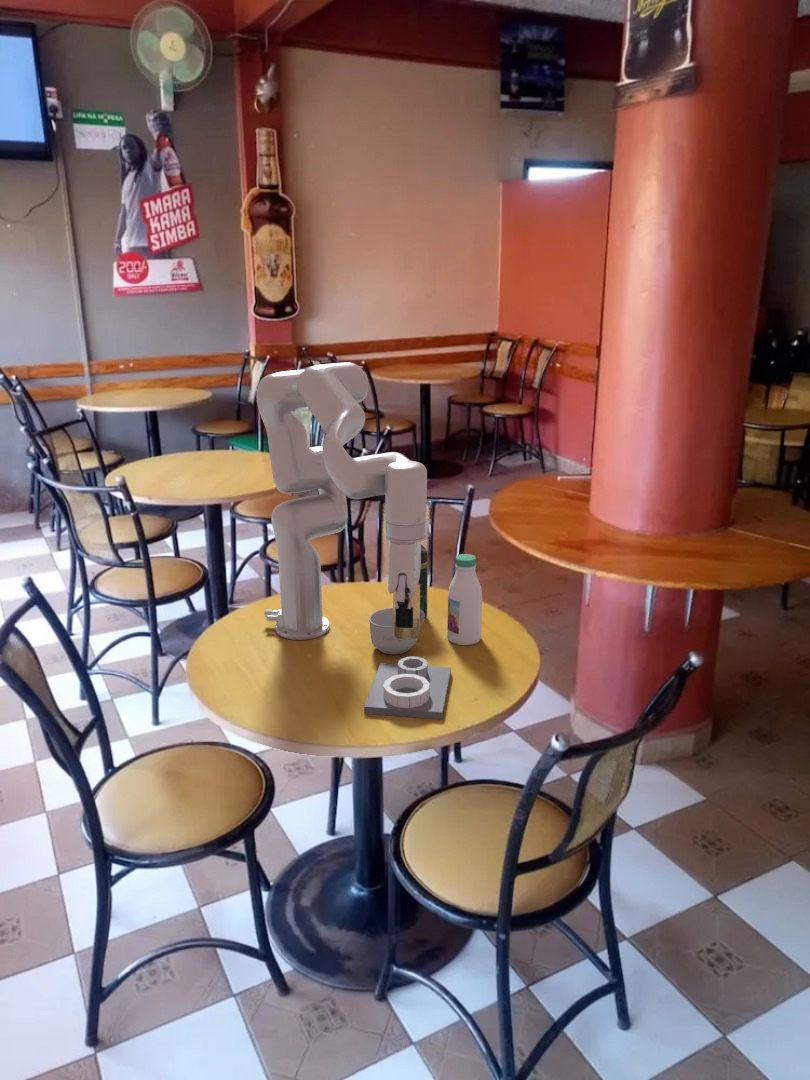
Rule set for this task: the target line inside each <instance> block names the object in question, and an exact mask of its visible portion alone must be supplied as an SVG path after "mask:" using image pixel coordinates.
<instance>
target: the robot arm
mask: <svg viewBox="0 0 810 1080" xmlns="http://www.w3.org/2000/svg"><path fill="white" fill-rule="evenodd" d="M256 388H257V389H256V396H255V397H256V403H257V404H256V405H257V409H258V412H259V415H260V417H261V420H262V422H263V425H264V427H265V430H266V435H267V440H268V441H267V443H268V450H269V451H268V452H269V459H270V465H271V473H272V479H273V483H274V486H275V488H276V489H277V491H279V492H280V493H283V494H296V493H303V492H308V491H313V490H314V491H315V490H318V494H315V495H309V496H304V497H296V498H291V499H288V500H284V501H282V502H280V503H279V504H277V505H276V506H275V507H274V508H273V510H272V513H271V517H270V519H271V525H272V530H273V534H274V539H275V543H276V548H277V558H278V559H277V560H278V561H277V563H278V576H279V592H280V607H281V608H278V610H277V609H270V608H269V609H267V608H266V609H265V610H264V617H265V618H266V621H267V622H276V624H275V632H276V633H277V635H279V636H280V637H282V638H284V639H289V640H296V641H304V640H311V639H316V638H318V637H321V636H323V635H325V634H326V633H328V631H329V630H330V621H329V620H328V618H327V617H325V616H323V615H324V613H323V596H322V595H323V594H322V568H321V566H322V565H321V557H320V553H319V552H318V551H317V549H315V548H314V546H312V544H311V542H310V541H311V540H313V539H317V538H320V537H325V536H330V535H333V534H338V533H340V532H342V531H343V530H344V529H345V528H346V527H347V524H348V515H349V514H348V504H347V503H348V502H347V498H349V499H352V500H361V499H366V498H371V497H376V496H381V495H384V496H385V497H384V503H385V504H384V505H385V506H384V511H385V517H384V519H385V539H386V540H387V541H389V542H390V544H389V554H388V556H389V557H388V584H387V585H388V586H387V587H388V589H387V591H388V593H389V594H392V595H393V593H394V592H395V589H396V587H397V592H396V627H398V628H412V627H413V607H411V606H412V594H413V593H414V592H415V590H416V587H417V585H418V581H419V578H420V567H421V544H422V542H423V541H425V540H427V537H428V530H427V529H428V527H427V526H428V522H427V521H428V471H427V468H426V466H425V465H424V464H423V463H421V462H419V461H414V460H411V459H409V458H408V457H407V456H406V455H404V454H402V453H400V452H397V451H391V452H384V453H377V454H376V453H375V454H370V455H369V454H368V455H363V456H358V457H351V456H350V454H349V453H348V452H347V450H346V449H345V448H344V447H343V446H344V445H346V444H347V443H348V442H350V441H351V440H353V439H354V438H355V437H356V436H358V434H360V432H361V431H362V429H363V427H364V426H365V423H366V414H365V411H364V409H363V407H362V406H361V405H360V404H359V403H361V402H362V401H364V400H365V398H366V397H367V395H368V391H369V380H368V378H367V374H366V373H365V371H364V370H363V369H362V367H360V366H359V365H358V364H356V363H354V362H350V361H348V362H336V363H334V362H333V363H325V364H315V365H312V366H309V367H307V368H305V369H295V370H294V369H293V370H286V371H278V372H277V371H276V372H274V373H273V372H272V373H271V374H270V373H269V374H267V375H266V376H264V377H262V378H261V379H260V380H259V382H258V384H257V387H256ZM307 410H309V411H310V413H311V414H312V415H313V417H314V418H315V420H316V421H317V422H318V424H319V425H320V426H321V428H322V430H323V431H324V432H325V434H324V438H323V442H322V445H315V446H311V447H309V445H308V444H309V443H308V437H307V435H308V434H307V429H306V427H305V424H304V423H303V422H302V420H301V419H300V417H298V415H297V414H296V413H295V412H297V411H307ZM406 589H409V592H406ZM405 595H406V596H408V600H407V599H406V597H405Z"/></svg>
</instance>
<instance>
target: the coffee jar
mask: <svg viewBox="0 0 810 1080" xmlns="http://www.w3.org/2000/svg"><path fill="white" fill-rule="evenodd" d="M428 557H429V556H428V550H427V548H426V547H425V546H424V545H423V543H421V567H420V578H419V581H418V583H419V584H420V609H421V610H422V611H423V612H424V614H425V619H424V620H426V618H427V617H428V563H429V561H428Z"/></svg>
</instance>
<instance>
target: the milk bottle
mask: <svg viewBox="0 0 810 1080" xmlns="http://www.w3.org/2000/svg"><path fill="white" fill-rule="evenodd" d="M455 568H456V571H455V574H454V576H453V578H452V580H451V582H450V584H449V588H448V594H447V595H448V597H447V629H446V630H447V640H448V641H450V642H451V643H452V644H454V645H459V646H471V645H472V646H473V645H475V644H478V643H479V642H480V641H481V639H482V624H483V623H482V621H483V619H482V618H483V614H482V613H483V592H482V591H483V590H482V586H481V583H480V581H479V578H478V576H477V573H476V568H477V557H476V555H474V554H470V553H469V554H468V553H462V554H458V555H456V556H455Z"/></svg>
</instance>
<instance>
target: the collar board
mask: <svg viewBox="0 0 810 1080" xmlns="http://www.w3.org/2000/svg"><path fill="white" fill-rule="evenodd" d="M451 675H452V667H450V666H435V665H432V666H431V665H429V662H428V660H427V659H425V658H424V657H420V656H414V655H413V656H411V655H409V656H406V657H402V658H400V659H398V662H397V663H391V662H389V663H388V662H380V663H379V666H378V669H377V670H376V673H375V676H374V679H373V682H372V685H371V687H370V690H369V693H368V695H367V698H366V701H365V703H364V705H363V708H364V709H363V710H364V711H363V713H364V714H365V715H379V716H380V715H382V716H393V717H408V718H419V719H421V718H422V719H433V720H443V718H444V717H443V716H444V711H445V706H446V701H447V696H448V691H449V686H450V680H451Z"/></svg>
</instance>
